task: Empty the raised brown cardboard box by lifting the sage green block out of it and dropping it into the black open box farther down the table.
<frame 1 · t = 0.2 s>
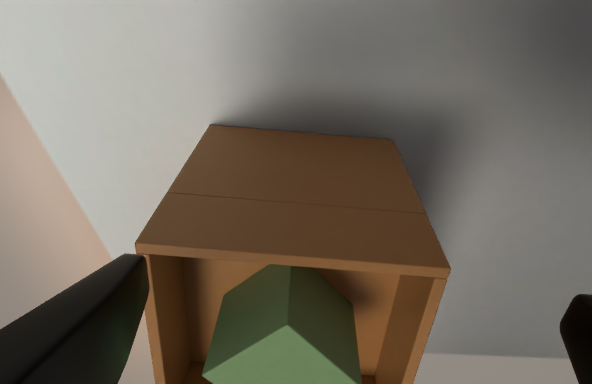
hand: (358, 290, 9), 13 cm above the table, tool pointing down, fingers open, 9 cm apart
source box: (294, 210, 23), on the table
block: (288, 300, 17), point 7 cm above the table, touching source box
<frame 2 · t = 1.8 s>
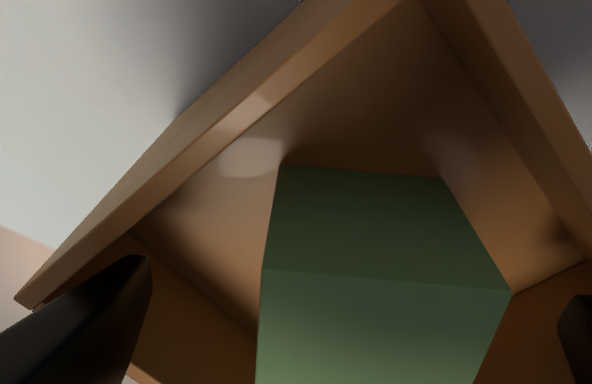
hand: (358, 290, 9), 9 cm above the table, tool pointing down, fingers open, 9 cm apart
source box: (335, 137, 16), on the table
block: (349, 238, 10), point 7 cm above the table, touching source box
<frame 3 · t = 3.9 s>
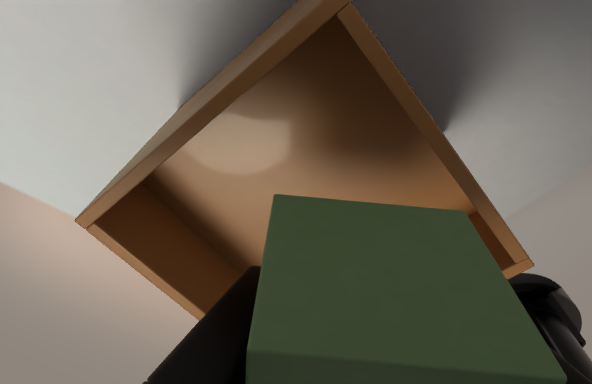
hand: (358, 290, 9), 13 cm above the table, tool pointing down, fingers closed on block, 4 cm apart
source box: (309, 124, 20), on the table
block: (354, 275, 9), point 12 cm above the table, touching gripper
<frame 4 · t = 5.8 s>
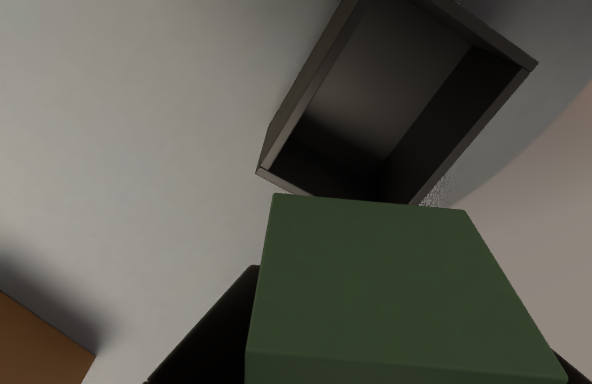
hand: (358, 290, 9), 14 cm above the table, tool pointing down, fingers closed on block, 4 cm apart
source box: (5, 348, 30), on the table
black open box: (368, 86, 20), on the table
block: (354, 275, 9), point 13 cm above the table, touching gripper
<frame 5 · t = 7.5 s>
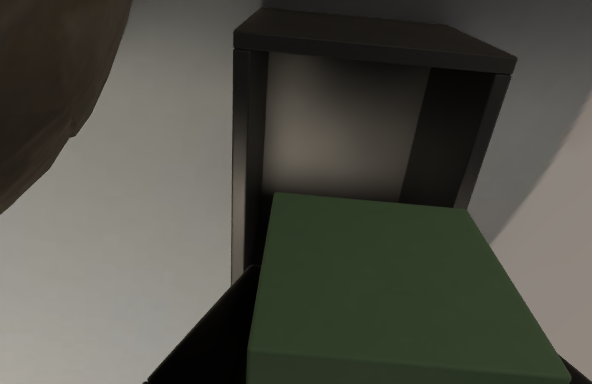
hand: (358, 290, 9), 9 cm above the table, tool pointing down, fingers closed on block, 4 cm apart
black open box: (337, 137, 16), on the table
block: (355, 274, 9), point 8 cm above the table, touching gripper
when the fingers open (5 cm above the table, at t = 9.4 s): block stays where it is, resting on black open box.
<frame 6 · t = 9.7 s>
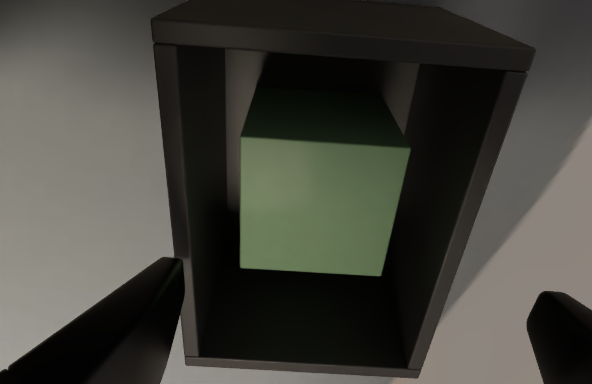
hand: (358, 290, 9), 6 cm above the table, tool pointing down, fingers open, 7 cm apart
black open box: (312, 142, 14), on the table
block: (313, 148, 13), resting on black open box
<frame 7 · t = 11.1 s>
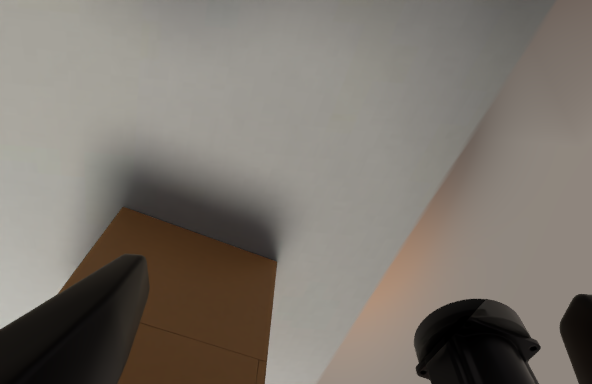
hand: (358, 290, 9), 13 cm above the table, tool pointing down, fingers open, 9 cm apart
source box: (180, 289, 26), on the table
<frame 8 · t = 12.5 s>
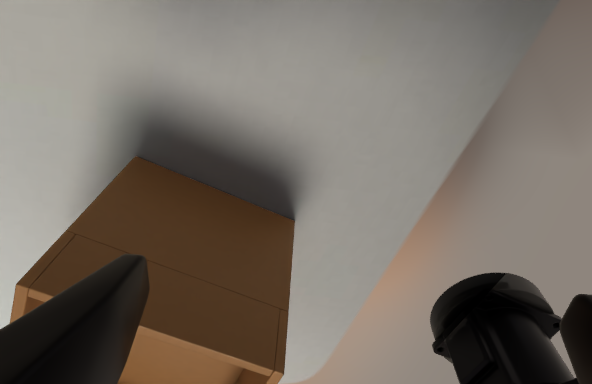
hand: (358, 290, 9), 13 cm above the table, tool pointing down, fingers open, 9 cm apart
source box: (192, 250, 25), on the table
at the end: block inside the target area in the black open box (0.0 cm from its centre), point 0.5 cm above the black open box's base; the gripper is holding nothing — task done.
